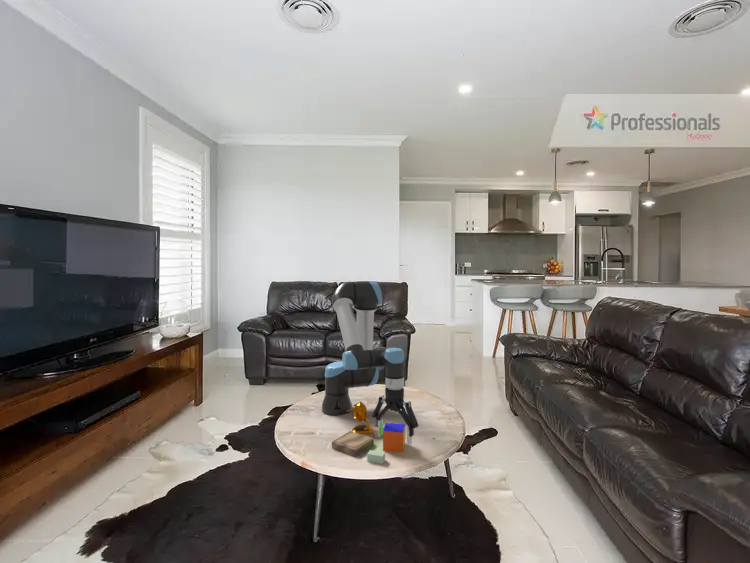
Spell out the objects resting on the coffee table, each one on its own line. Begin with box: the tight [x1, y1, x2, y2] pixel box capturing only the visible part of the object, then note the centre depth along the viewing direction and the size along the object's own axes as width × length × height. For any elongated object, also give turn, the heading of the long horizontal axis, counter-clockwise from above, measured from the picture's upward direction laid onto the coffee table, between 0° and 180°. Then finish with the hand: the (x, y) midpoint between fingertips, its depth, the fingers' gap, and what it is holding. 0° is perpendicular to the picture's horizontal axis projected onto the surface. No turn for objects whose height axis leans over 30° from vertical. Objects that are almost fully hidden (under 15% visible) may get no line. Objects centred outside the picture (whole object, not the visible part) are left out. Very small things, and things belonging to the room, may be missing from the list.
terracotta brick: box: [373, 424, 385, 439], centre depth 168 cm, size 6×3×3 cm, turn 160°
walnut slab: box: [331, 430, 375, 457], centre depth 157 cm, size 12×12×3 cm
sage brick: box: [366, 449, 386, 464], centre depth 146 cm, size 6×3×3 cm, turn 71°
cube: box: [382, 422, 406, 453], centre depth 156 cm, size 8×8×8 cm
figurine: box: [347, 401, 375, 435], centre depth 171 cm, size 8×11×12 cm
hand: (394, 439), depth 156 cm, fingers open, 13 cm apart
